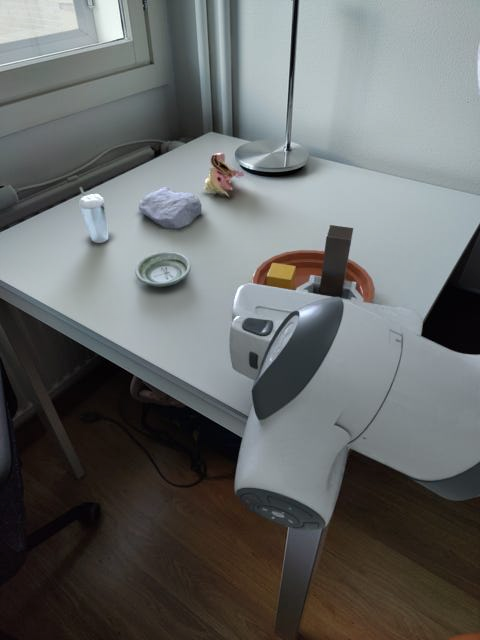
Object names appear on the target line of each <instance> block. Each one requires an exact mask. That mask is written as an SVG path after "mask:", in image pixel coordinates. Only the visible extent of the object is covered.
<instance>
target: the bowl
mask: <svg viewBox="0 0 480 640" xmlns="http://www.w3.org/2000/svg"><path fill="white" fill-rule="evenodd" d="M324 252H325V250H324V251H322V250H316V249H298V250H291V251H286V252H283V253H279V254H276V255H274V256H271V257H270V258H269V259H267V260H265V261H263V262H262V263H261V264H260V265H259V266H258V267H257V268H256V270H255V272H254V274H253V276H252V277H251V283H253V284H259V285H265V286H267V275H268V272H269V270H270V267H271V265H272V263H278V264H285V265H292V266H296V272H295V285H294V288H293V290H295V291H296V289H297V288H298V287H299V286H301V285H303V284H305V283H307V282H309V279H310V276H311V275H314V276H320V277H321V275H322V267H323V259H324ZM344 281H351V282H356V288H355V290H357V291H358V293H359V294H360V295H361V296H362V298H363V299H364V300H363V302H367V303H373V302H374V297H375V290H376V287H375V284H374V282H373V278H372V277H371V276H370V274H369V273H368V272H367V270H366V269H365V268H363V267H362V266H361V265H359V263H357V262H355V261H353V260H351V259H349V258H348V263H347V268H346V274H345V280H344ZM373 304H374V303H373Z"/></svg>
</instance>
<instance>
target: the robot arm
mask: <svg viewBox="0 0 480 640" xmlns="http://www.w3.org/2000/svg"><path fill="white" fill-rule="evenodd" d="M476 82H477V91H478V97H479V98H480V41H479V43H478V47H477V59H476ZM320 282H321V277H320V276H314V275H311V276H310V279H309V282H307V283H305V284H303V285H301V286H299V287H298V288H297V289H296V291H295V290H289V289H283V288H277V287H271V286H265V285H259V284H253V283H252V282H247V283H245V284H242V285H240V286H238V288H237V290H236V293H235V296H234V298H233V301H232V306H231V323H230V330H229V338H228V339H229V343H228V344H229V356H230V362H231V367H232V369H233V370H234V371H235V372H237V373H238V374H240V375H243V376H244V377H246V378H249V379H250V380H253V381H254V383H253V384H252V385H253V386H252V389H251V391H250V392H251V399H252V406H251V408H250V411H249V414H248V417H247V421H246V424H245V427H244V431H243V435H242V439H241V443H240V446H239V447H240V448H239V452H238V456H237V462H236V469H235V475H234V476H235V477H234V493H235V496H236V497H237V499H238V500H239V501H240V502H241V504H242V505H243V506H245V507H246V508H247V509H248V510H249V511H250V512H252V513H253V514H256V515H258V516H260V517H262V518H263V519H265V520H267V521H270V522H272V523H273V524H276V525H280V526H281V527H284V528H290V529H293V530H297V531H306V532H308V531H309V532H310V531H311V532H312V531H315V530H316V531H317V530H321V529H325V528H326V527H327V526H328V525H329V523H330V521H331V519H332V516H333V513H334V511H335V507H336V504H337V501H338V497H339V495H340V494H339V493H340V490H341V487H342V483H343V478H344V474H345V471H346V464H347V459H348V454H349V449H350V450H352V451H355V452H356V453H359V454H361V455H363V456H365V457H368V458H370V459H372V460H374V461H376V462H378V463H380V464H382V465H385V466H387V467H389V468H391V469H393V470H395V471H398V472H400V473H401V474H402V475H403V476H405V477H406V478H408V479H410V480H412V481H413V482H415V483H417V484H419V485H420V486H422V487H424V488H426V489H427V490H429V491H430V492H432V493H434V494H436V495H437V496H440V497H441V498H443V499H446V500H448V501H456V502H458V501H466V500H467V501H468V500H471V499H473V498H477V497H480V354H469V353H463V352H458V351H455V350H452V349H449V348H448V347H445V346H443V345H442V344H439V343H437V342H435V341H432V340H430V339H428V338H426V337H424V336H422V333H423V327H424V326H423V324H424V322H423V321H424V318H423V317H422V316H421V315H420V313H418V312H417V311H416V310H414V309H411V308H410V309H409V308H403V307H396V306H392V305H384V304H378V303H367V302H363V300H364V299H363V298H362V296H361V295H360V294H359V293H358V291H357V290H355V288H356V282H351V281H344V285H343V290H342V296H341V298H340V297H331V296H325V295H319V290H320Z"/></svg>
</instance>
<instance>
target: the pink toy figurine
mask: <svg viewBox="0 0 480 640" xmlns="http://www.w3.org/2000/svg"><path fill="white" fill-rule="evenodd" d="M210 165H211V166H212V167H210V168H209V177H207V178H206V179H205V180H204V183H205V186H204V187H203V189H204V190H205V191H206V192H207V193H212V194H213V195H216V194H218V193H221V194H225V195H226V196H227V197H230V195H229V194H228V192H227V191H233V186H232V184H231V182H232V179H233V178H234V177H235V178H239V179H240V178H242V177H244V175H245V174H244V172H243V171H240V170H236V169H235V168H234V167H232V166H231V165H229V164H228V163H227V162H226V155H225V153H223V152H217V153H214V154H212V155H211V157H210Z"/></svg>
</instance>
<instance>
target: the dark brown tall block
mask: <svg viewBox="0 0 480 640" xmlns="http://www.w3.org/2000/svg"><path fill="white" fill-rule="evenodd" d="M327 229H328V230H327V233H326V237H325V245H324V259H323V267H322V275H321V282H320V290H319V295H325V296H331V297H340V298H341V296H342V290H343V285H344V280H345V274H346V268H347V263H348V259H349V258H350V257H349V256H350V251H351V246H352V240H353V233H354V227H348V226H342V225H332V224H330V225H329V227H328V228H327Z"/></svg>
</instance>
